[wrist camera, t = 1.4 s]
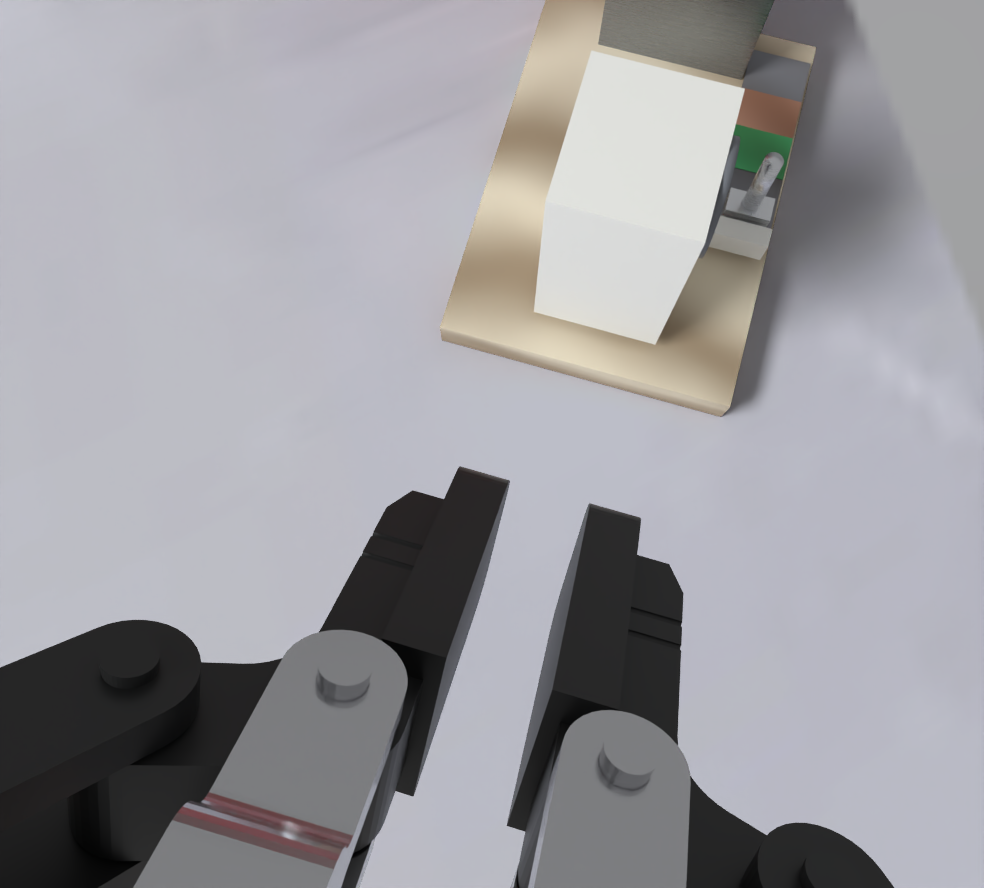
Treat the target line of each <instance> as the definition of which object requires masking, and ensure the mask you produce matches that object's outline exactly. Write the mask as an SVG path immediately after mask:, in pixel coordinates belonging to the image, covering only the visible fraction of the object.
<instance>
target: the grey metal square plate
mask: <svg viewBox="0 0 984 888" xmlns="http://www.w3.org/2000/svg"><path fill="white" fill-rule="evenodd" d="M773 2H774V0H605V5H604V11H603V17H602V23H601V29H600V35H599V42H598V45H602V46H606V47H610V48H614V49H618V50H622V51H627V52H631V53H635V54H639V55H643V56H647V57H651V58H655V59H659V60H663V61H667V62H671V63H675V64H679V65H683V66H687V67H691V68H695V69H699V70H703V71H707V72H711V73H715V74H719V75H723V76H727V77H731V78H735V79H739V80H741V79H742V77H743V74H744V72H745V70H746V67H747V65H748V62H749V60H750V58H751V55H752V53H753V50H754V48H755V46H756V43H757V41H758V38H759V36H760V34H761V31H762V29H763V26H764V24H765V22H766V19H767V17H768V14H769V12H770V9H771V7H772V5H773Z"/></svg>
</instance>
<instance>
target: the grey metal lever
mask: <svg viewBox="0 0 984 888" xmlns="http://www.w3.org/2000/svg"><path fill="white" fill-rule="evenodd" d="M783 164H784V159H783V157H782V156H781V155H780V154H779V153H776V152H771V153H768V154H767V155H766V156H765V158H764V160H763V162H762V164H761V166H760V168H759V170H758V172H757V174H756V175H755V177H754V179H753V181H752V183H751V185H750V187H749V189H748V191H743V190H739V189H736V188H732V187H731V188H730V191H729V193H728V195H727V197H726V200H725V203H724V206H723V209H722V212H721V215H720V216H724V217H728V218H732V219H736V220H739V221H743V222H747V223H751V224H755V225H759V226H763V227H767V225H768V224H769V222H770V220H771V216H772V211H773V207H774V203H775V199H774V198H771V197H767V196H766V194H767V192H768V191H769V189H770V187H771V185H772V184H773V182H774V180H775V178H776V177H777V175H778V173H779V171H780V169H781V168H782V166H783Z"/></svg>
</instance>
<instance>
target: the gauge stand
mask: <svg viewBox="0 0 984 888" xmlns="http://www.w3.org/2000/svg"><path fill="white" fill-rule="evenodd" d="M604 5H605V0H546V1H545V4H544V7H543V10H542V13H541V16H540V20H539V23H538V26H537V29H536V32H535V35H534V38H533V41H532V44H531V47H530V50H529V54H528V57H527V60H526V63H525V66H524V69H523V72H522V75H521V78H520V81H519V84H518V88H517V91H516V94H515V97H514V100H513V103H512V106H511V109H510V112H509V115H508V118H507V122H506V125H505V128H504V131H503V134H502V137H501V140H500V143H499V146H498V149H497V152H496V156H495V159H494V162H493V165H492V168H491V171H490V174H489V177H488V180H487V183H486V186H485V189H484V193H483V196H482V199H481V202H480V205H479V208H478V211H477V214H476V217H475V220H474V223H473V227H472V230H471V233H470V236H469V239H468V242H467V245H466V248H465V251H464V254H463V257H462V261H461V264H460V267H459V270H458V273H457V276H456V279H455V282H454V285H453V288H452V291H451V295H450V298H449V301H448V304H447V307H446V310H445V313H444V316H443V319H442V322H441V325H440V331H441V337H442V340H443V341H447V342H451V343H454V344H458V345H462V346H465V347H469V348H473V349H476V350H480V351H483V352H487V353H491V354H494V355H498V356H502V357H505V358H509V359H512V360H516V361H520V362H523V363H527V364H531V365H534V366H538V367H542V368H545V369H549V370H552V371H556V372H560V373H563V374H567V375H571V376H574V377H578V378H582V379H585V380H589V381H592V382H596V383H600V384H603V385H607V386H611V387H614V388H618V389H621V390H625V391H629V392H632V393H636V394H640V395H643V396H647V397H651V398H654V399H658V400H661V401H665V402H669V403H672V404H676V405H680V406H683V407H687V408H691V409H694V410H698V411H701V412H705V413H709V414H712V415H716V416H720V417H722V415H723V414H724V413H725V412H726V411H727V410H728V409H729V408H730V405H731V401H732V397H733V393H734V389H735V385H736V380H737V376H738V372H739V368H740V364H741V360H742V355H743V351H744V347H745V343H746V339H747V335H748V330H749V326H750V322H751V318H752V314H753V310H754V305H755V301H756V297H757V293H758V289H759V285H760V280H761V276H762V272H763V268H764V264H765V260H766V255H767V251H768V248H767V250H766V251H765V253H764V255H763V256H762V258H761V259H760V260H757V259H753V258H750V257H746V256H742V255H738V254H734V253H731V252H727V251H723V250H719V249H715V248H712V247H708V249H707V251H706V253H705V255H704V257H703V258H702V259H701V258H698V259H697V261H696V263H695V265H694V267H693V269H692V271H691V273H690V275H689V277H688V279H687V281H686V283H685V285H684V287H683V289H682V291H681V293H680V295H679V297H678V299H677V301H676V303H675V306H674V308H673V310H672V312H671V314H670V316H669V318H668V320H667V322H666V324H665V326H664V328H663V330H662V332H661V334H660V336H659V338H658V340H657V342H656V344H655V345H654V344H651V343H647V342H643V341H640V340H636V339H632V338H629V337H625V336H621V335H617V334H614V333H610V332H606V331H603V330H599V329H595V328H592V327H588V326H584V325H581V324H577V323H573V322H569V321H566V320H562V319H558V318H555V317H551V316H547V315H544V314H540V313H536V312H534V305H535V295H536V286H537V276H538V266H539V257H540V247H541V238H542V228H543V219H544V209H545V201H546V197H547V194H548V191H549V188H550V184H551V181H552V178H553V174H554V171H555V168H556V165H557V161H558V158H559V155H560V152H561V148H562V145H563V142H564V138H565V135H566V132H567V129H568V125H569V122H570V119H571V116H572V112H573V109H574V106H575V102H576V99H577V96H578V93H579V89H580V86H581V83H582V80H583V76H584V73H585V70H586V66H587V63H588V60H589V57H590V53H591V50H592V51H596V52H600V53H604V54H608V55H612V56H616V57H620V58H624V59H628V60H632V61H636V62H640V63H644V64H648V65H652V66H656V67H660V68H664V69H668V70H672V71H676V72H680V73H684V74H688V75H692V76H696V77H700V78H704V79H708V80H712V81H716V82H720V83H724V84H728V85H732V86H736V87H740V88H744V89H745V90H744V94H743V98H742V102H741V106H740V110H739V114H738V118H737V122H736V125H735V129H734V133H733V135H735V136H739V137H740V146H739V152H738V156H737V161H736V165H735V169H734V172H733V176H732V180H731V183H730V187H729V190H728V193H729V191H730V188H731V187H732V188H736V189H739V190H743V191H748V189H749V187H750V185H751V183H752V181H753V179H754V177H755V175H756V174H757V172H758V170H759V168H760V166H761V164H762V162H763V160H764V158H765V156H766V155H767V154H768V153H771V152H776V153H779V154H780V155H781V156H782V157H783V159H784V164H783V166H782V168H781V169H780V171H779V173H778V175H777V177H776V178H775V180H774V182H773V184H772V185H771V187H770V189H769V191H768V192H767V194H766V196H767V197H771V198H774V199H775V203H774V207H773V211H772V216H771V220H770V222H769V224H768V225H767V227H766V228H770V229H773V226H774V222H775V218H776V214H777V210H778V205H779V201H780V197H781V193H782V189H783V185H784V180H785V176H786V172H787V168H788V164H789V160H790V155H791V151H792V147H793V143H794V139H795V135H796V130H797V126H798V122H799V118H800V114H801V110H802V105H803V101H804V97H805V93H806V89H807V85H808V80H809V76H810V72H811V68H812V64H813V60H814V55H815V51H816V47H813V46H809V45H805V44H801V43H797V42H793V41H789V40H785V39H781V38H776V37H772V36H768V35H764V34H760V36H759V38H758V41H757V43H756V46H755V48H754V50H753V53H752V55H751V58H750V60H749V62H748V65H747V67H746V70H745V72H744V74H743V77H742V79H741V80H739V79H735V78H731V77H727V76H723V75H719V74H715V73H711V72H707V71H703V70H699V69H695V68H691V67H687V66H683V65H679V64H675V63H671V62H667V61H663V60H659V59H655V58H651V57H647V56H643V55H639V54H635V53H631V52H627V51H622V50H618V49H614V48H610V47H606V46H602V45H598V42H599V35H600V29H601V23H602V17H603V11H604ZM728 193H727V195H728ZM771 235H772V234H771ZM770 239H771V238H770ZM769 243H770V242H769ZM768 247H769V246H768Z"/></svg>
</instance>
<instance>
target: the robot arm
mask: <svg viewBox="0 0 984 888" xmlns="http://www.w3.org/2000/svg"><path fill="white" fill-rule="evenodd" d="M509 483H510V481H509V480H506V479H502V478H499V477H495V476H492V475H488V474H485V473H481V472H478V471H474V470H471V469H467V468H464V467H459V468H458V470H457V472H456V474H455V476H454V479H453V481H452V483H451V485H450V487H449V490H448V492H447V494H446V496H445V499H441V498H437V497H434V496H430V495H427V494H423V493H420V492H416V491H411V492H410V493H408V494H406V495H405V496H403V497H402V498H400V499H399V500H397V501H396V502H394V503H393V504H391V505H390V506H388V507H387V508H386V510H385V512H384V513H383V515H382V517H381V519H380V521H379V523H378V524H377V526H376V528H375V530H374V533H373V536H371V537H370V539H369V541H368V543H367V545H366V547H365V549H364V550H363V554H362V556H360V558H359V560H358V561H357V563H356V565H355V567H354V569H353V571H352V573H351V574H350V576H349V578H348V580H347V582H346V584H345V586H344V587H343V589H342V591H341V593H340V595H339V597H338V598H337V600H336V602H335V604H334V606H333V608H332V610H331V611H330V613H329V615H328V617H327V619H326V621H325V623H324V624H323V626H322V628H321V630H320V631H319V633H315V634H312V635H310V636H308V637H305V638H303V639H301V640H300V641H298V642H297V643H296V644H294V645H293V646H292V647H291V648H290V649H289V650H288V651H287V652H286V654H285V655H284V657H283V658H281V659H278V660H274V661H270V662H264V663H256V664H233V663H202V662H201V659H200V654H199V652H198V649H197V647H196V646H195V644H194V643H193V642H192V640H191V639H190V638H189V637H188V636H186V635H185V634H184V633H183V632H181V631H179V630H178V629H176V628H174V627H171V626H169V625H167V624H163V623H159V622H155V621H148V620H128V621H120V622H115V623H110V624H107V625H104V626H101V627H98V628H96V629H93V630H91V631H89V632H86V633H84V634H81V635H79V636H76V637H74V638H71V639H69V640H67V641H64V642H62V643H59V644H57V645H54V646H52V647H49V648H47V649H45V650H42V651H40V652H37V653H35V654H32V655H30V656H27V657H25V658H23V659H20V660H18V661H15V662H13V663H10V664H8V665H5V666H3V667H1V668H0V888H359V887H360V884H361V881H362V878H363V875H364V873H365V870H366V867H367V864H368V861H369V858H370V855H371V852H372V849H373V845H374V841H375V837H376V836H377V834H378V833H379V831H380V830H381V828H382V826H383V823H384V821H385V818H386V815H387V813H388V810H389V807H390V804H391V801H392V799H393V796H394V793H395V791H397V792H401V793H404V794H407V795H410V796H414V793H415V790H416V787H417V784H418V781H419V778H420V775H421V772H422V769H423V766H424V763H425V760H426V757H427V754H428V751H429V748H430V745H431V742H432V739H433V736H434V733H435V730H436V727H437V724H438V722H439V719H440V716H441V713H442V710H443V707H444V704H445V701H446V698H447V695H448V692H449V689H450V686H451V683H452V680H453V677H454V674H455V671H456V668H457V665H458V662H459V659H460V656H461V653H462V650H463V647H464V644H465V641H466V638H467V635H468V632H469V629H470V626H471V623H472V620H473V617H474V614H475V611H476V608H477V605H478V602H479V598H480V595H481V592H482V588H483V585H484V581H485V578H486V574H487V571H488V567H489V563H490V559H491V555H492V551H493V547H494V543H495V539H496V535H497V532H498V528H499V524H500V520H501V516H502V512H503V508H504V504H505V500H506V496H507V492H508V488H509ZM640 524H641V519H640V518H639V517H636V516H632V515H629V514H625V513H622V512H618V511H615V510H611V509H608V508H604V507H600V506H597V505H593V504H590V503H589V505H588V507H587V510H586V513H585V516H584V519H583V522H582V526H581V529H580V532H579V535H578V538H577V541H576V545H575V548H574V551H573V554H572V557H571V560H570V564H569V567H568V570H567V573H566V576H565V580H564V583H563V586H562V589H561V592H560V596H559V599H558V603H557V606H556V610H555V614H554V618H553V621H552V625H551V630H550V634H549V638H548V643H547V647H546V652H545V656H544V661H543V665H542V670H541V674H540V679H539V683H538V688H537V692H536V697H535V701H534V706H533V710H532V715H531V719H530V724H529V728H528V733H527V737H526V742H525V746H524V751H523V755H522V760H521V764H520V769H519V773H518V778H517V782H516V787H515V791H514V796H513V800H512V805H511V809H510V814H509V818H508V823H507V826H509V827H513V828H516V829H519V830H522V831H525V837H524V842H523V847H522V852H521V857H520V862H519V865H518V868H517V870H516V873H515V876H514V879H513V881H512V884H511V887H510V888H894V887H893V885H892V884H891V883H890V881H889V880H888V878H887V877H886V876H885V874H884V873H883V872H882V870H881V869H880V868H879V867H878V866H877V864H876V863H875V862H874V861H873V860H872V859H871V858H870V857H869V856H868V855H867V854H866V853H865V852H864V851H863V850H862V849H861V848H859V847H858V846H857V845H856V844H854V843H853V842H852V841H850V840H848V839H847V838H845V837H844V836H842V835H840V834H838V833H836V832H834V831H832V830H830V829H827V828H824V827H821V826H818V825H814V824H808V823H791V824H785V825H782V826H780V827H777V828H776V829H774V830H773V831H771V832H770V833H769V834H768V835H765V834H763V833H762V832H760V831H759V830H757V829H755V828H754V827H752V826H750V825H749V824H747V823H745V822H744V821H742V820H741V819H739V818H737V817H736V816H734V815H732V814H731V813H729V812H728V811H726V810H725V809H723V808H722V807H720V806H719V805H717V804H716V803H715V802H714V801H713V800H712V799H710V798H709V797H708V796H707V795H706V794H705V793H704V792H703V791H702V790H701V789H700V788H699V787H698V785H697V784H696V783H695V781H694V780H693V779H692V777H691V776H690V771H689V767H688V764H687V761H686V759H685V757H684V755H683V753H682V752H681V750H680V748H679V747H678V738H677V733H678V709H679V684H680V660H681V650H680V646H681V636H682V627H681V623H682V611H683V592H682V590H681V588H680V586H679V584H678V581H677V579H676V577H675V575H674V573H673V571H672V569H671V567H670V565H669V564H666V563H663V562H659V561H656V560H653V559H649V558H646V557H642V556H639V555H637V550H638V541H639V533H640Z"/></svg>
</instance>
